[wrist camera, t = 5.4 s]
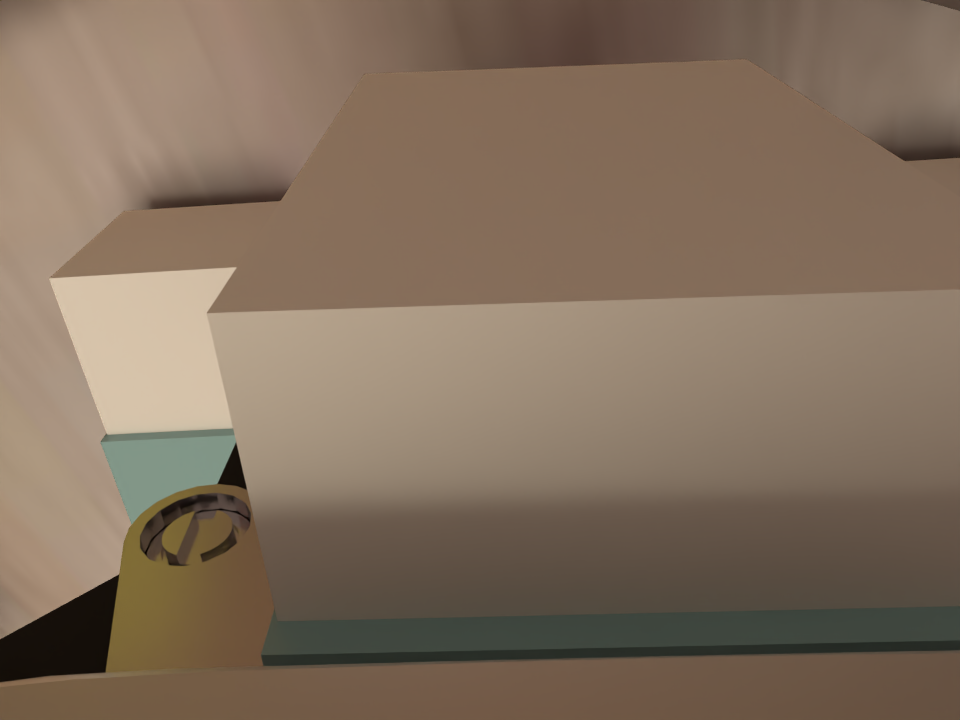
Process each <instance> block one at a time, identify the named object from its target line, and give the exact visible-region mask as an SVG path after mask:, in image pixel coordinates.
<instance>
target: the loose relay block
mask: <svg viewBox="0 0 960 720" xmlns="http://www.w3.org/2000/svg"><path fill="white" fill-rule="evenodd" d="M923 1H927V2H930V3H934V4H937V5H941V6H945V7H948V8H952V9H955V10H959V11H960V0H923Z"/></svg>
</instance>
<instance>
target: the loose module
mask: <svg viewBox="0 0 960 720" xmlns="http://www.w3.org/2000/svg"><path fill="white" fill-rule="evenodd" d="M207 317H208V321H209V326H210V330H211V334H212V339H213V343H214V347H215V352H216V356H217V360H218V365H219V369H220V374H221V378H222V382H223V387H224V391H225V395H226V400H227V404H228V408H229V413H230V417H231V421H232V426H233V430H234V434H235V439H236V443H237V447H238V452H239V456H240V460H241V465H242V469H243V474H244V478H245V482H246V487H247V491H248V495H249V500H250V504H251V508H252V513H253V517H254V521H255V526H256V530H257V534H258V539H259V543H260V547H261V552H262V556H263V560H264V565H265V569H266V574H267V578H268V582H269V587H270V591H271V595H272V600H273V604H274V612H273V615H272V619H271V622H270V625H269V629H268V632H267V636H266V639H265V642H264V646H263V649H262V653H261V658H262V662H263V666H290V665H327V664H364V663H401V662H439V661H478V660H516V659H560V658H604V657H648V656H694V655H742V654H790V653H841V652H895V651H952V650H960V197H959V196H958V195H956V194H954V193H953V192H951V191H950V190H948V189H947V188H945V187H944V186H942V185H941V184H939V183H937V182H936V181H934V180H933V179H931V178H930V177H928V176H927V175H925V174H924V173H922V172H920V171H919V170H917V169H916V168H914V167H913V166H911V165H910V164H908V163H907V162H905V161H903V160H902V159H900V158H899V157H897V156H896V155H894V154H893V153H891V152H890V151H888V150H886V149H885V148H883V147H882V146H880V145H879V144H877V143H876V142H874V141H873V140H871V139H869V138H868V137H866V136H865V135H863V134H862V133H860V132H859V131H857V130H856V129H854V128H852V127H851V126H849V125H848V124H846V123H845V122H843V121H842V120H840V119H839V118H837V117H835V116H834V115H832V114H831V113H829V112H828V111H826V110H825V109H823V108H821V107H820V106H818V105H817V104H815V103H814V102H812V101H811V100H809V99H808V98H806V97H804V96H803V95H801V94H800V93H798V92H797V91H795V90H794V89H792V88H791V87H789V86H787V85H786V84H784V83H783V82H781V81H780V80H778V79H777V78H775V77H774V76H772V75H770V74H769V73H767V72H766V71H764V70H763V69H761V68H760V67H758V66H757V65H755V64H753V63H752V62H750V61H749V60H747V59H739V60H713V61H687V62H661V63H635V64H609V65H583V66H557V67H532V68H506V69H480V70H454V71H428V72H402V73H376V74H364V75H363V77H362V78H361V80H360V81H359V83H358V84H357V86H356V87H355V89H354V91H353V92H352V94H351V95H350V97H349V98H348V100H347V101H346V103H345V104H344V106H343V107H342V109H341V110H340V112H339V113H338V115H337V116H336V118H335V119H334V121H333V122H332V124H331V125H330V127H329V128H328V130H327V131H326V133H325V134H324V136H323V137H322V139H321V141H320V142H319V144H318V145H317V147H316V148H315V150H314V151H313V153H312V154H311V156H310V157H309V159H308V160H307V162H306V163H305V165H304V166H303V168H302V169H301V171H300V172H299V174H298V175H297V177H296V178H295V180H294V181H293V183H292V184H291V186H290V188H289V189H288V191H287V192H286V194H285V195H284V197H283V198H282V200H281V201H280V203H279V204H278V206H277V207H276V209H275V210H274V212H273V213H272V215H271V216H270V218H269V219H268V221H267V222H266V224H265V225H264V227H263V228H262V230H261V231H260V233H259V234H258V236H257V238H256V239H255V241H254V242H253V244H252V245H251V247H250V248H249V250H248V251H247V253H246V254H245V256H244V257H243V259H242V260H241V262H240V263H239V265H238V266H237V268H236V269H235V271H234V272H233V274H232V275H231V277H230V278H229V280H228V281H227V283H226V285H225V286H224V288H223V289H222V291H221V292H220V294H219V295H218V297H217V298H216V300H215V301H214V303H213V304H212V306H211V307H210V309H209V310H208V312H207Z"/></svg>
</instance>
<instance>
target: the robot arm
mask: <svg viewBox="0 0 960 720" xmlns="http://www.w3.org/2000/svg"><path fill="white" fill-rule="evenodd" d="M273 612H274V604H273V600H272V595H271V591H270V587H269V582H268V578H267V574H266V569H265V565H264V560H263V556H262V552H261V547H260V543H259V539H258V534H257V530H256V526H255V521H254V517H253V513H252V508H251V504H250V500H249V495H248V491H247V487H246V482H245V478H244V474H243V469H242V465H241V460H240V456H239V452H238V447H237V443H235V446H234V448H233V450H232V452H231V454H230V457H229V459H228V461H227V463H226V466H225V468H224V470H223V472H222V474H221V477H220V479H219V481H218V483H217V484H214V485H205V486H196V487H193V488H190V489H186V490H183V491H179V492H176V493H174V494H172V495H170V496H168V497H166V498H164V499H162V500H159V501H157V502H156V503H155V504H153V505H152V506H151V507H149V508H148V509H147V510H145V511H144V512H143V513H141V514H140V515H139V517H138V518H137V519H136V520H135V521H134V523H133V524H132V525H131V526H130V528H129V530H128V533H127V535H126V538H125V541H124V545H123V552H122V559H121V566H120V573H119V575H117V576H116V577H114V578H112V579H110V580H108V581H106V582H105V583H103V584H101V585H99V586H97V587H95V588H94V589H92V590H90V591H88V592H86V593H84V594H83V595H81V596H79V597H77V598H75V599H73V600H72V601H70V602H68V603H66V604H64V605H62V606H61V607H59V608H57V609H55V610H53V611H51V612H50V613H48V614H46V615H44V616H42V617H40V618H39V619H37V620H35V621H33V622H31V623H29V624H28V625H26V626H24V627H22V628H20V629H18V630H17V631H15V632H13V633H11V634H9V635H7V636H6V637H4V638H2V639H0V720H960V650H952V651H895V652H841V653H790V654H742V655H694V656H648V657H604V658H560V659H516V660H478V661H439V662H401V663H364V664H327V665H290V666H263V662H262V658H261V653H262V649H263V646H264V642H265V639H266V636H267V632H268V629H269V625H270V622H271V619H272V615H273Z"/></svg>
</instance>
